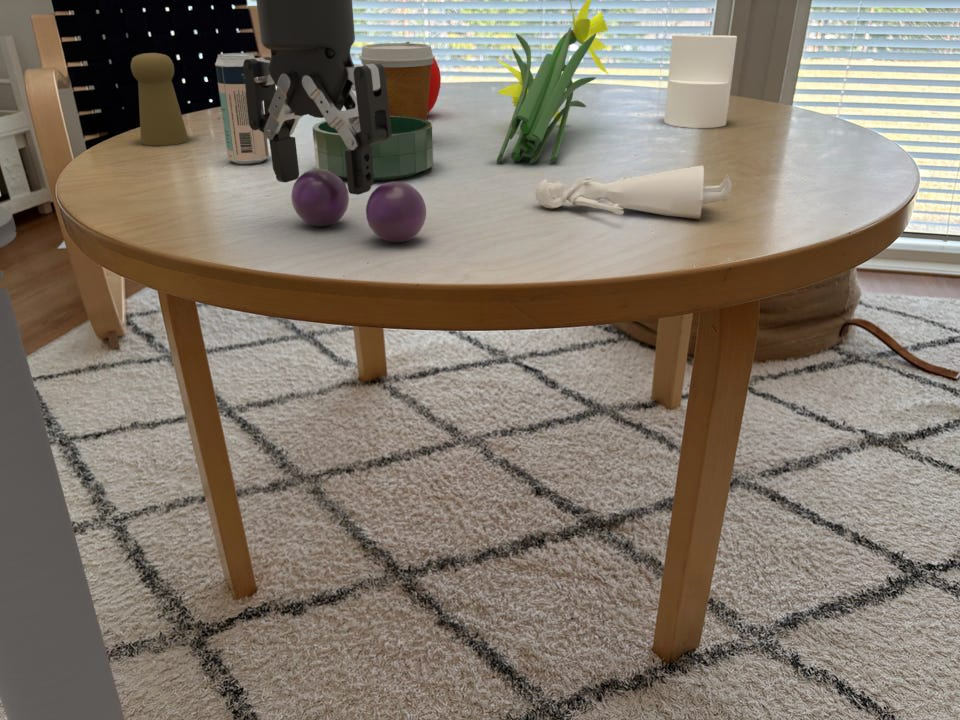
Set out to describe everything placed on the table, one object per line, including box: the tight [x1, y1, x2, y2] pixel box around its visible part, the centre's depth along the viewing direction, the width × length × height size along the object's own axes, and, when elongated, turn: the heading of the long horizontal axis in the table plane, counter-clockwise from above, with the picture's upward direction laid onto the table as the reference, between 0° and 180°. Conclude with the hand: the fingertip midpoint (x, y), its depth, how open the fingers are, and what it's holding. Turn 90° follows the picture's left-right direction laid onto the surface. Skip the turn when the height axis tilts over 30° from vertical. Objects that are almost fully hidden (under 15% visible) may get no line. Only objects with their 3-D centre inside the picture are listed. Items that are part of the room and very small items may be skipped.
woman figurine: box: [534, 165, 732, 220], centre depth 76 cm, size 12×4×18 cm
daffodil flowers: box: [496, 0, 610, 165], centre depth 107 cm, size 17×15×35 cm
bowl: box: [312, 115, 434, 182], centre depth 92 cm, size 13×13×5 cm
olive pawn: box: [130, 52, 190, 147], centre depth 106 cm, size 6×6×11 cm
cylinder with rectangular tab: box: [663, 33, 738, 129], centre depth 118 cm, size 9×9×12 cm
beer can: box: [214, 52, 270, 165], centre depth 95 cm, size 5×5×12 cm
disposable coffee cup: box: [359, 42, 436, 121], centre depth 105 cm, size 10×10×12 cm
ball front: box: [365, 180, 427, 243], centre depth 68 cm, size 5×5×5 cm
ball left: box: [291, 168, 350, 227], centre depth 72 cm, size 5×5×5 cm
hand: (323, 186), depth 72 cm, fingers open, 8 cm apart
